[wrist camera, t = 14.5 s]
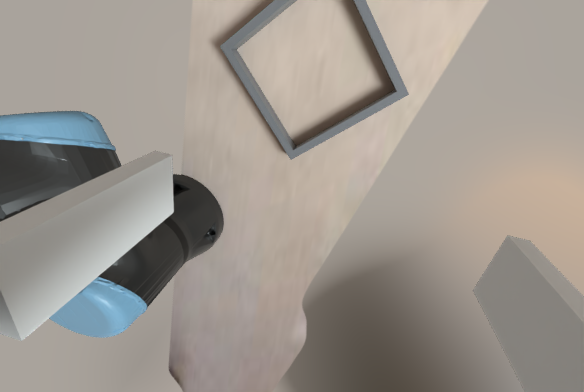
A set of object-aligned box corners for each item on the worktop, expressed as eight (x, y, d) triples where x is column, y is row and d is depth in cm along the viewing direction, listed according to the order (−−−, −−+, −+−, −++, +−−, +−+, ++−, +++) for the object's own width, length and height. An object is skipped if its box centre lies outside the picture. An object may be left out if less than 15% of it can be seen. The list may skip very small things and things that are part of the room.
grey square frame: (293, 155, 42) (290, 159, 40) (226, 46, 38) (219, 46, 36) (406, 92, 35) (408, 94, 34) (341, -50, 31) (339, -56, 29)
